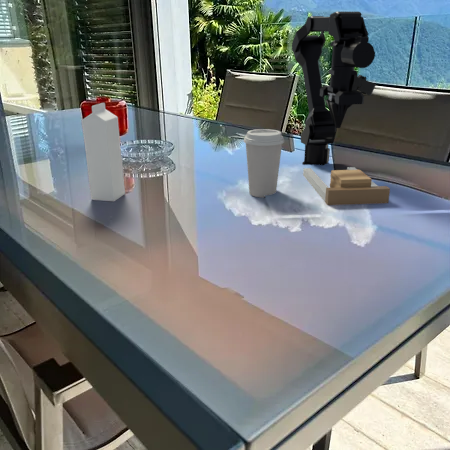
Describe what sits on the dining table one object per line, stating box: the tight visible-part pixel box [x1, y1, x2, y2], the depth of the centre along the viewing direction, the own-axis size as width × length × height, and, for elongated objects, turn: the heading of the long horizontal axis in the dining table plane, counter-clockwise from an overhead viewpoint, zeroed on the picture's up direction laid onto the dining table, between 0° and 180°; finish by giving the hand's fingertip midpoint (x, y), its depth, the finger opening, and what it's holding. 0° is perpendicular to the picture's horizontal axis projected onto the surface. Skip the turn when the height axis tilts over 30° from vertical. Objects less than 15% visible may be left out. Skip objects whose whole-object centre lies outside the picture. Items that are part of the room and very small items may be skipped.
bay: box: [302, 166, 391, 206], centre depth 114 cm, size 24×14×4 cm, turn 4°
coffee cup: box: [243, 128, 285, 199], centre depth 110 cm, size 10×10×15 cm
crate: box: [329, 169, 373, 188], centre depth 108 cm, size 8×7×5 cm
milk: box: [81, 102, 126, 202], centre depth 107 cm, size 6×6×22 cm
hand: (337, 127), depth 122 cm, fingers closed
